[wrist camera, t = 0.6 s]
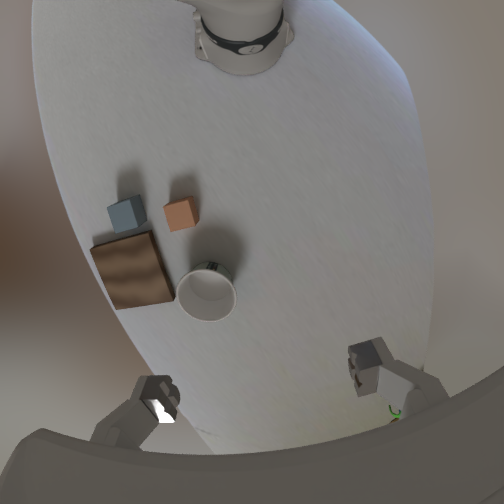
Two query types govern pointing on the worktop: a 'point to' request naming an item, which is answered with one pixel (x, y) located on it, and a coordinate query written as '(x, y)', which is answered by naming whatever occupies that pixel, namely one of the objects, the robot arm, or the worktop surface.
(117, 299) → the walnut board
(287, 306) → the worktop surface
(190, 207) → the terracotta block
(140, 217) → the slate block
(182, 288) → the food container
